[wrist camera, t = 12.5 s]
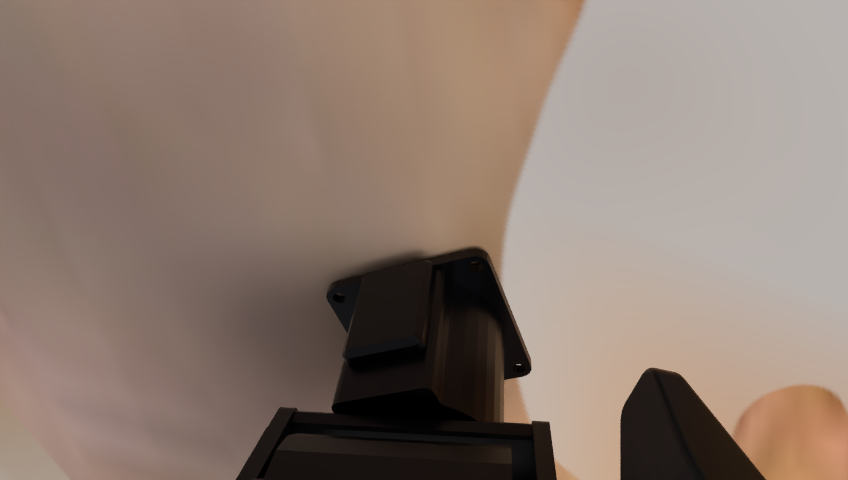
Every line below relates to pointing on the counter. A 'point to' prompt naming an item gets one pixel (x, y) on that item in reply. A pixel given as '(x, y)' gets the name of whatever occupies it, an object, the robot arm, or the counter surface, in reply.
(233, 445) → the counter surface
